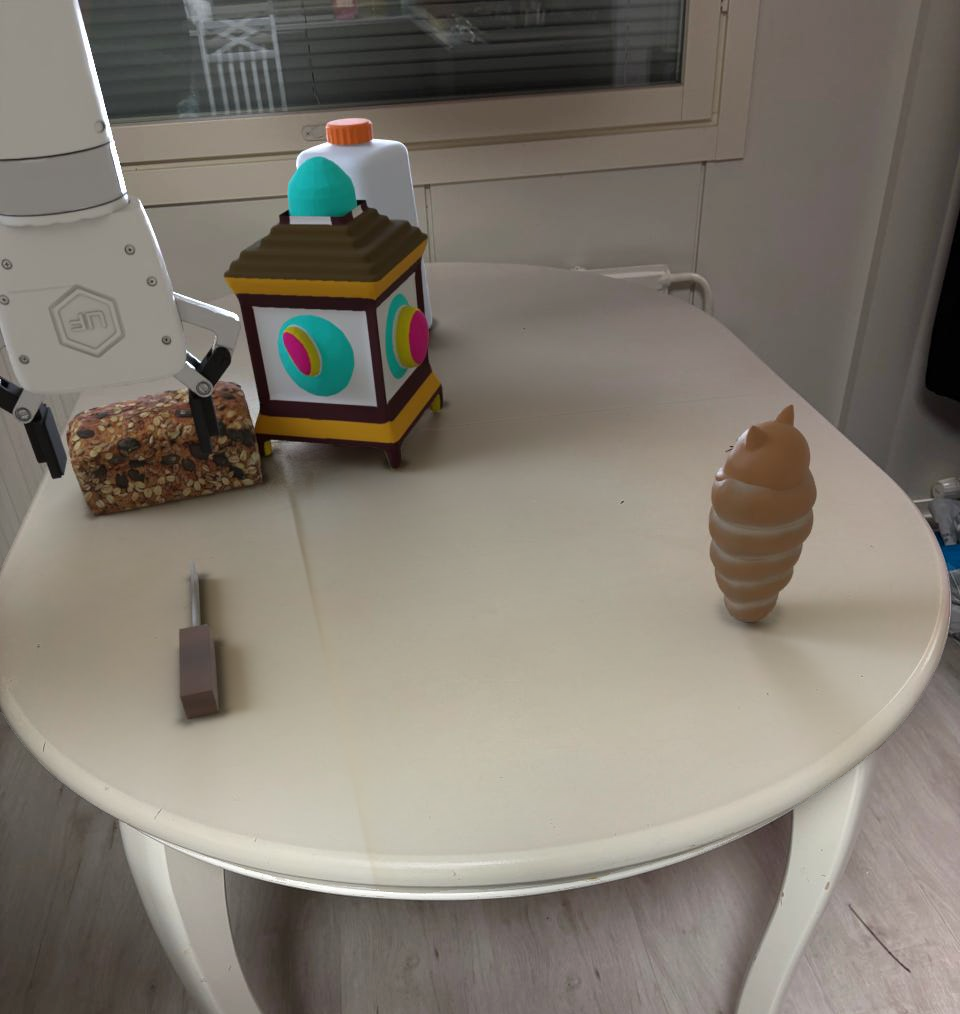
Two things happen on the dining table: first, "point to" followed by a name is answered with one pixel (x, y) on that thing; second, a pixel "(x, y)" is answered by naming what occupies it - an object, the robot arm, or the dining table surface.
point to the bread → (161, 450)
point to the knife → (197, 662)
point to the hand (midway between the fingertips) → (134, 458)
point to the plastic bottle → (373, 173)
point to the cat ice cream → (761, 515)
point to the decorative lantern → (336, 320)
